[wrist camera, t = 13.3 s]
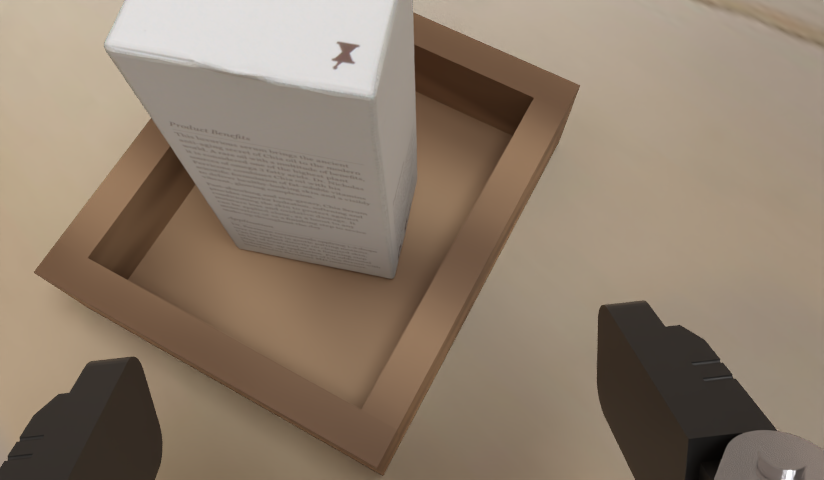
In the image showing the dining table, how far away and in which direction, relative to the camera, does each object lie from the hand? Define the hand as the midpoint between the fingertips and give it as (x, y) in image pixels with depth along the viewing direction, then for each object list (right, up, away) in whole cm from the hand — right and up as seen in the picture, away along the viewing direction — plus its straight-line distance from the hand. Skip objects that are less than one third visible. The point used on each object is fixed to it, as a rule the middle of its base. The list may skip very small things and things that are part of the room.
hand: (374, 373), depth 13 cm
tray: (-2, +3, +15) cm, 16 cm away
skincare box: (-2, +3, +14) cm, 15 cm away
